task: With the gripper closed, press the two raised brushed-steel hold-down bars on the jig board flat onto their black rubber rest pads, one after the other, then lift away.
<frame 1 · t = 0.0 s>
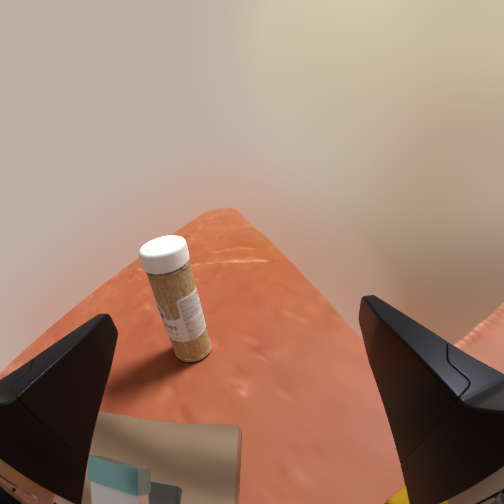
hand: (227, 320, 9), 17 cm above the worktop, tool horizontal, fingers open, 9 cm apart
sprinkles bottle: (194, 350, 30), on the worktop
jig board: (86, 503, 11), on the worktop
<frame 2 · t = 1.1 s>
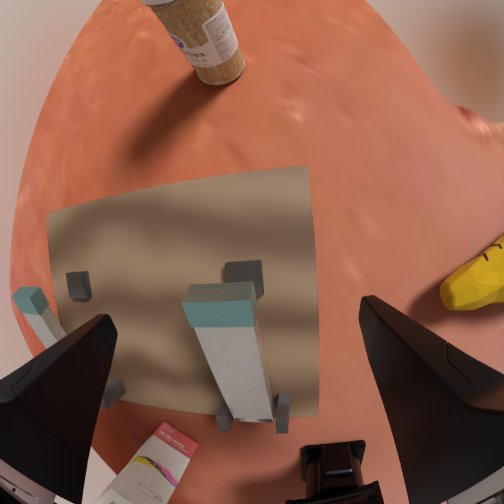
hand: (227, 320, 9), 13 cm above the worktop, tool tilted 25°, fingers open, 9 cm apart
sprinkles bottle: (222, 68, 21), on the worktop
bar a: (241, 373, 16), point 6 cm above the worktop, hinge at 25.0°
ink cartridge box: (167, 445, 25), on the worktop
jig board: (163, 305, 23), on the worktop
bar b: (62, 351, 18), point 6 cm above the worktop, hinge at 25.0°
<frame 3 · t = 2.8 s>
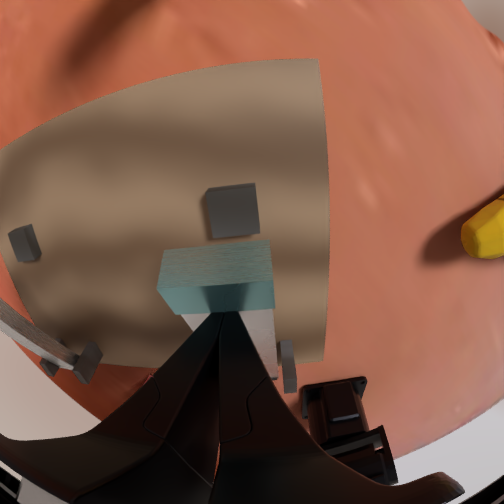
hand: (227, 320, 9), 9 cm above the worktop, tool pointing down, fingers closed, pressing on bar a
bar a: (243, 343, 13), point 6 cm above the worktop, hinge at 24.8°, touching gripper
jig board: (128, 248, 18), on the worktop
bar b: (24, 333, 14), point 6 cm above the worktop, hinge at 25.0°
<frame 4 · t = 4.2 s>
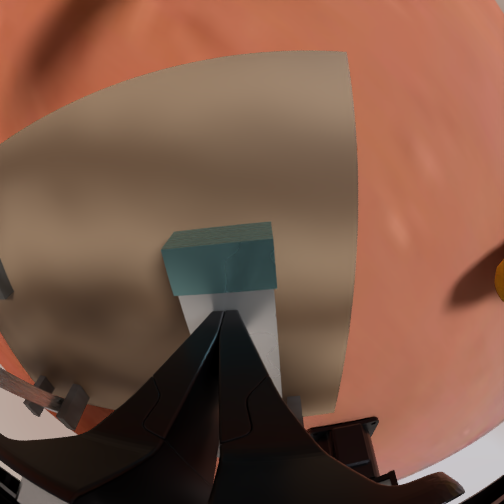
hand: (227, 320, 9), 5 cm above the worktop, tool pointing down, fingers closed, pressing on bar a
bar a: (245, 375, 11), point 4 cm above the worktop, hinge at 0.7°, touching gripper
jig board: (106, 290, 14), on the worktop
bar b: (1, 379, 10), point 6 cm above the worktop, hinge at 25.0°
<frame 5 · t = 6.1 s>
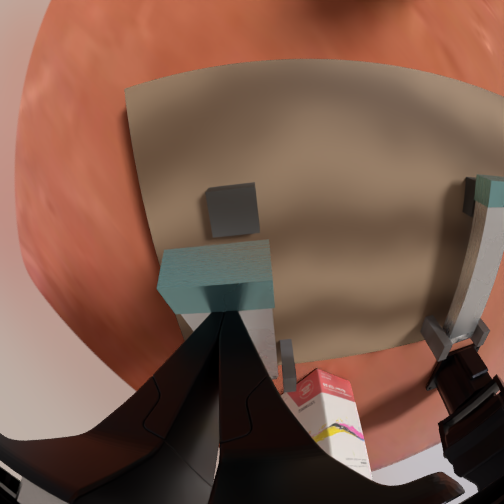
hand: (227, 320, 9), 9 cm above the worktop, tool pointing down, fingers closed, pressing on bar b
bar a: (480, 271, 14), point 4 cm above the worktop, hinge at 0.7°
ink cartridge box: (304, 393, 25), on the worktop
jig board: (365, 224, 17), on the worktop
bar b: (243, 342, 13), point 6 cm above the worktop, hinge at 25.0°, touching gripper
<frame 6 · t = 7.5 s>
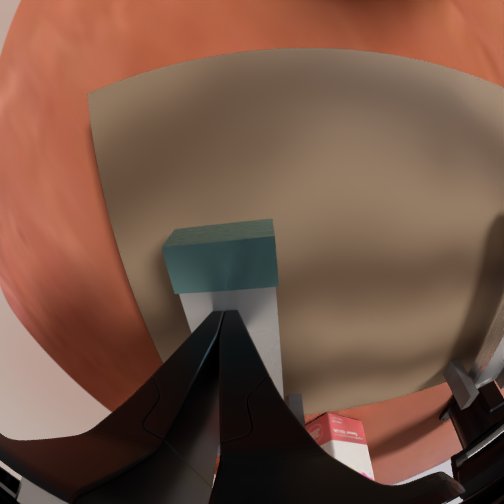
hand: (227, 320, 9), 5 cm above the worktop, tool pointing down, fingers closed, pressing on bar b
ink cartridge box: (311, 433, 21), on the worktop
jig board: (395, 264, 13), on the worktop
bar b: (246, 373, 11), point 4 cm above the worktop, hinge at 1.0°, touching gripper
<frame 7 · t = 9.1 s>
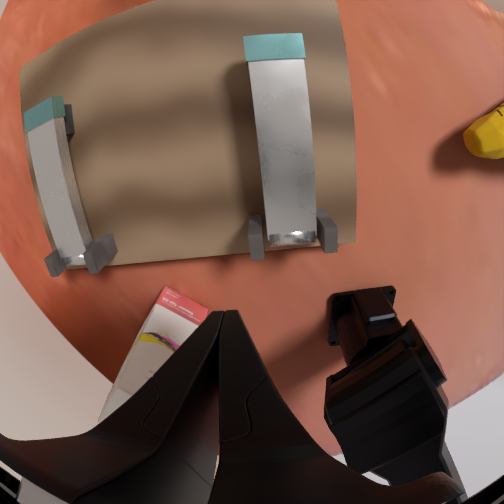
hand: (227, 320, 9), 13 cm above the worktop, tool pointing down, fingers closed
bar a: (284, 141, 15), point 4 cm above the worktop, hinge at 0.7°
ink cartridge box: (169, 321, 26), on the worktop
jig board: (165, 124, 18), on the worktop
bar b: (56, 186, 15), point 4 cm above the worktop, hinge at 0.9°
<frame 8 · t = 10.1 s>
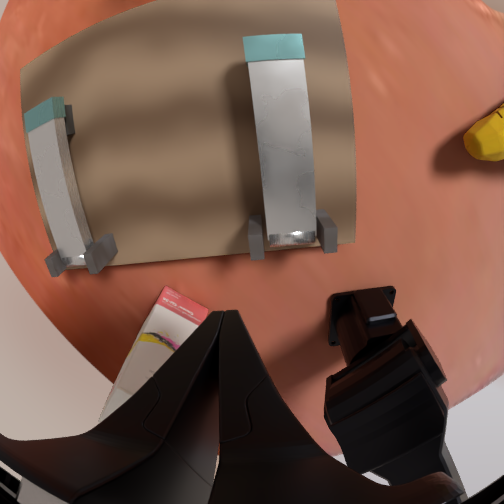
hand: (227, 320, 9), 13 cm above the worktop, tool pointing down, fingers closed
bar a: (284, 141, 15), point 4 cm above the worktop, hinge at 0.7°
ink cartridge box: (169, 322, 26), on the worktop
jig board: (165, 124, 18), on the worktop
bar b: (57, 186, 16), point 4 cm above the worktop, hinge at 0.9°
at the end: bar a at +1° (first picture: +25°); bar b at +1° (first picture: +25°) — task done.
